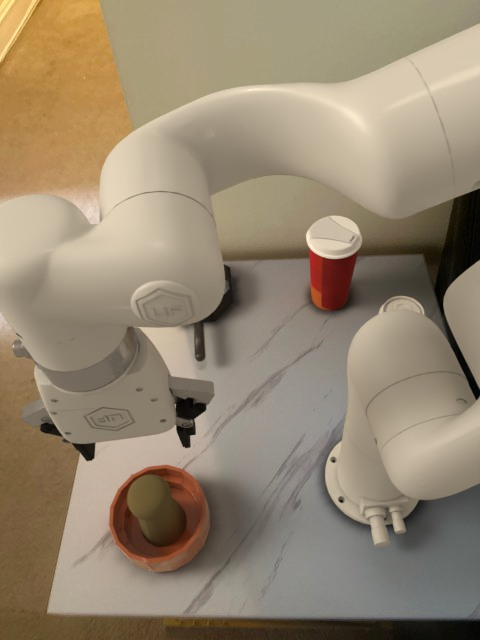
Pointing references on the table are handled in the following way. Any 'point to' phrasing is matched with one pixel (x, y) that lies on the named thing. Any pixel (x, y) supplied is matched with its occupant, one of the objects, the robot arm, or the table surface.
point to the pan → (212, 317)
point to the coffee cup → (332, 260)
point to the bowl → (129, 528)
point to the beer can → (402, 304)
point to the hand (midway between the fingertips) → (139, 440)
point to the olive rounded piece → (156, 510)
